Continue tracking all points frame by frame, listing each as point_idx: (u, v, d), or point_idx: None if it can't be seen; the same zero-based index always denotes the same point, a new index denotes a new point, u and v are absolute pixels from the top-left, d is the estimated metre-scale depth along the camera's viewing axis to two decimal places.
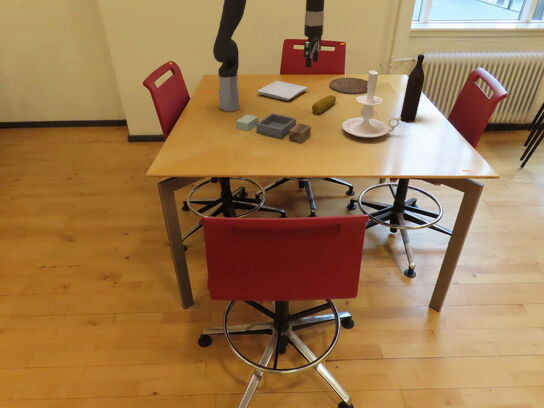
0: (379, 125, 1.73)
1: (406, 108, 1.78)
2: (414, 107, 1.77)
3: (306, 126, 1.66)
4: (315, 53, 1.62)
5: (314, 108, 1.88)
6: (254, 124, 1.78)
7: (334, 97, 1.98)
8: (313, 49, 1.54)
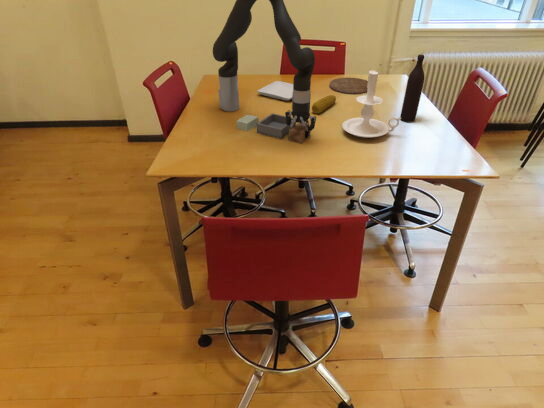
0: (379, 125, 1.73)
1: (406, 108, 1.78)
2: (414, 107, 1.77)
3: None
4: None
5: (314, 108, 1.88)
6: (254, 124, 1.77)
7: (334, 97, 1.98)
8: (308, 121, 1.63)
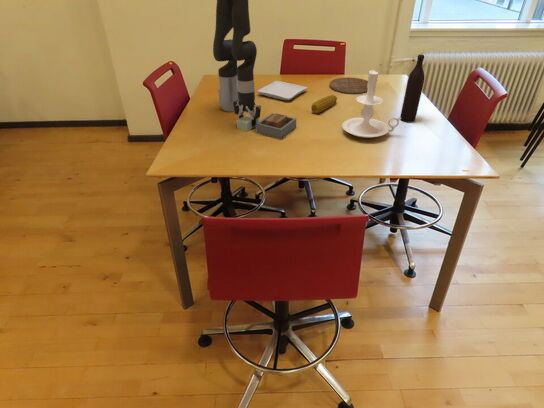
0: (379, 125, 1.73)
1: (406, 108, 1.78)
2: (414, 107, 1.77)
3: (282, 116, 1.73)
4: (241, 116, 1.77)
5: (313, 108, 1.88)
6: None
7: (335, 97, 1.98)
8: (254, 110, 1.74)
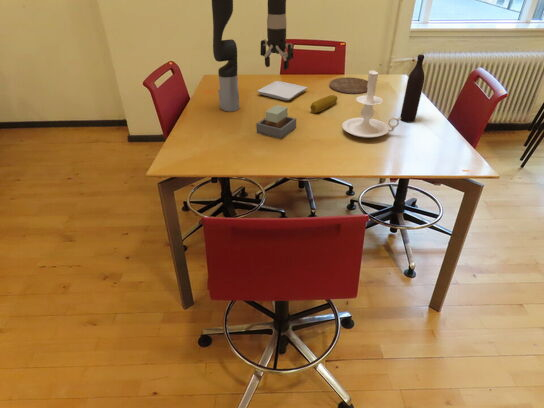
0: (379, 125, 1.73)
1: (406, 108, 1.78)
2: (414, 107, 1.77)
3: None
4: (268, 57, 1.58)
5: (312, 107, 1.89)
6: (283, 115, 1.70)
7: (335, 97, 1.98)
8: (285, 50, 1.54)
